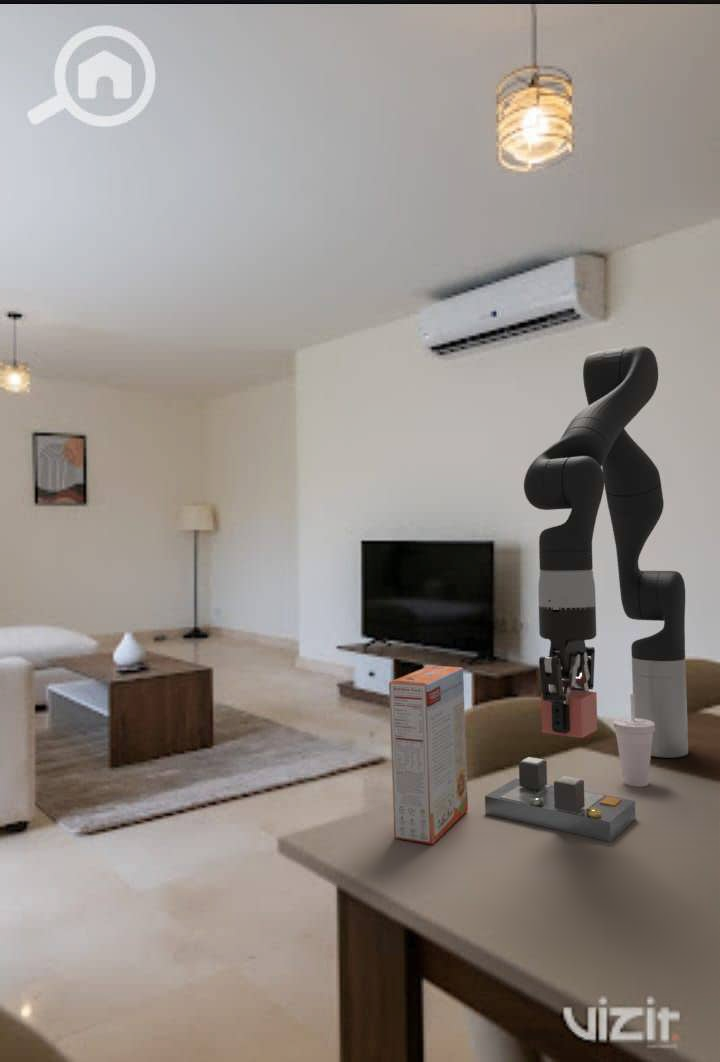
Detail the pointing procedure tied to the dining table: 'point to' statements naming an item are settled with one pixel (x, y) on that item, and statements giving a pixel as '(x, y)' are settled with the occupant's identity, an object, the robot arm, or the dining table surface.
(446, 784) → the cracker box
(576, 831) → the panel
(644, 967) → the dining table surface
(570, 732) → the salmon pink cube
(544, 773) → the toggle
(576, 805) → the toggle
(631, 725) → the smoothie
